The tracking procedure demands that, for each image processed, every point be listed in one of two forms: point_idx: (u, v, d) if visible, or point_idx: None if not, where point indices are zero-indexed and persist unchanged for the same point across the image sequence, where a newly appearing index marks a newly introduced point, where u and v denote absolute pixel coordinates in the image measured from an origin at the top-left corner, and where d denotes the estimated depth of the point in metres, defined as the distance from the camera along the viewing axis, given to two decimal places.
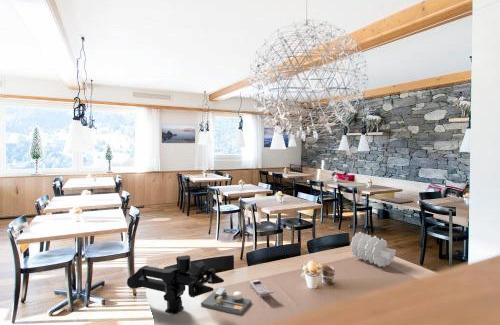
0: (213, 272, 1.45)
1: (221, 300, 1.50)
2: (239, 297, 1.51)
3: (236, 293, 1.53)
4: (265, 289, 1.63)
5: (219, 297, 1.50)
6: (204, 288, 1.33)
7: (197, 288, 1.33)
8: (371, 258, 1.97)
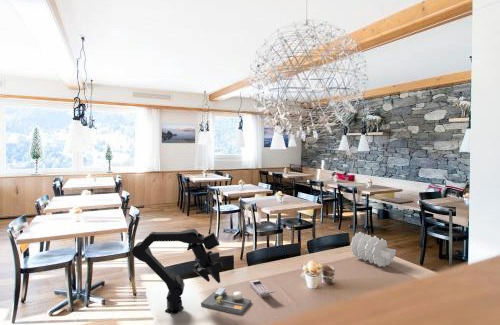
0: None
1: (221, 300, 1.50)
2: (239, 297, 1.51)
3: (236, 293, 1.53)
4: (265, 289, 1.63)
5: (219, 297, 1.50)
6: (218, 275, 1.46)
7: None
8: (371, 258, 1.97)
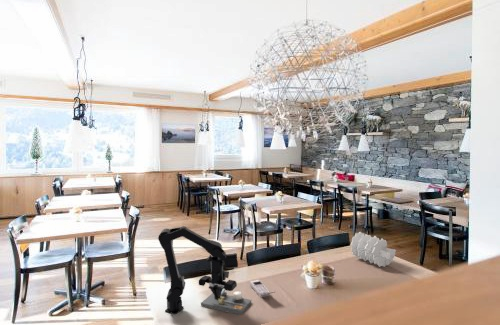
0: None
1: (223, 300, 1.50)
2: (239, 297, 1.51)
3: (236, 293, 1.53)
4: (265, 289, 1.62)
5: (221, 297, 1.50)
6: (220, 292, 1.50)
7: None
8: (371, 258, 1.97)
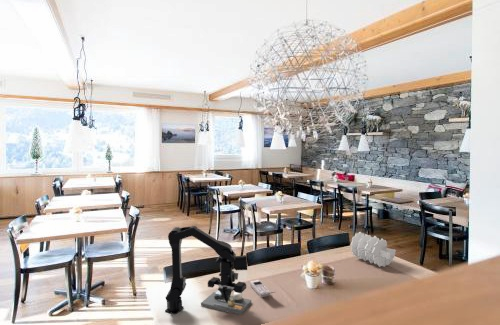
0: None
1: (232, 302, 1.47)
2: (239, 297, 1.51)
3: (236, 293, 1.53)
4: (266, 289, 1.62)
5: (230, 299, 1.48)
6: (229, 294, 1.48)
7: None
8: (371, 258, 1.97)
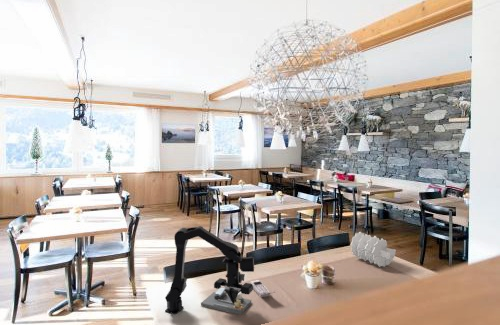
0: None
1: (239, 304, 1.46)
2: (239, 297, 1.51)
3: None
4: (265, 289, 1.62)
5: (237, 301, 1.46)
6: (236, 295, 1.47)
7: None
8: (371, 258, 1.97)
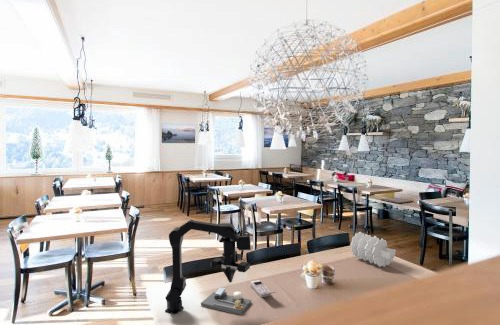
0: None
1: (239, 304, 1.46)
2: (239, 297, 1.51)
3: (236, 293, 1.53)
4: (266, 289, 1.62)
5: (237, 301, 1.46)
6: (233, 274, 1.47)
7: None
8: (371, 258, 1.97)
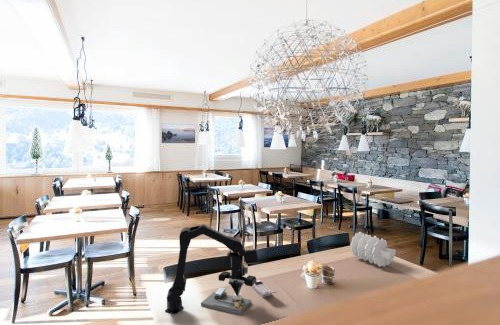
0: None
1: (239, 304, 1.46)
2: (239, 299, 1.51)
3: (236, 295, 1.53)
4: (267, 289, 1.62)
5: (237, 301, 1.46)
6: (240, 288, 1.52)
7: None
8: (371, 258, 1.97)
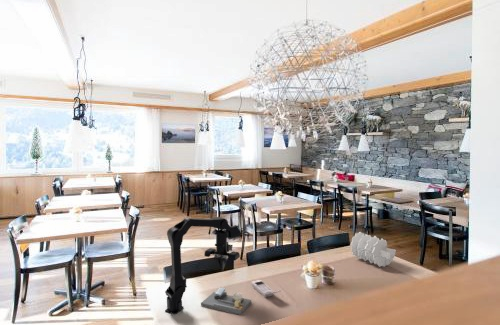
0: None
1: (239, 304, 1.46)
2: (239, 299, 1.51)
3: (236, 295, 1.53)
4: (269, 289, 1.63)
5: (237, 301, 1.46)
6: (224, 263, 1.62)
7: None
8: (371, 258, 1.97)
